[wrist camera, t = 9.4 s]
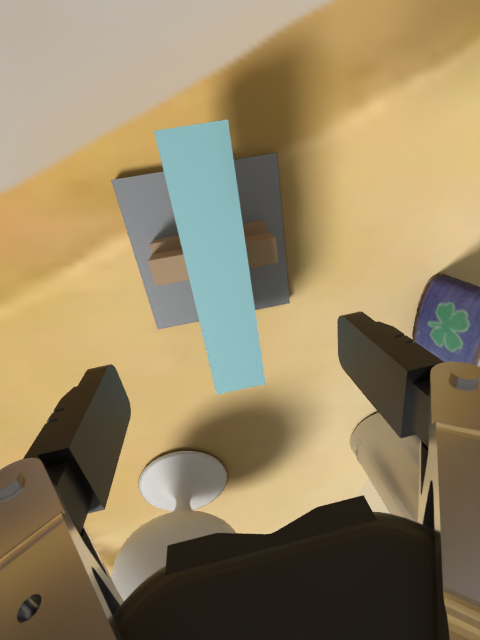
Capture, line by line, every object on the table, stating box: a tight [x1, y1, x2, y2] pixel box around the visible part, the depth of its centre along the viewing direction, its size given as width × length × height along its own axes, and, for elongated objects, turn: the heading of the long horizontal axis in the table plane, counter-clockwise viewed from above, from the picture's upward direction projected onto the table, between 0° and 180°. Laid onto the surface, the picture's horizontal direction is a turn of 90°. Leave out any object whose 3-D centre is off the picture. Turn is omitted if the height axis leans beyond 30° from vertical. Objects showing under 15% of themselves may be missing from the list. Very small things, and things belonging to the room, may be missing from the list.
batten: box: [154, 120, 265, 394], centre depth 21 cm, size 4×18×4 cm, turn 9°
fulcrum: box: [111, 153, 290, 329], centre depth 26 cm, size 14×14×6 cm
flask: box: [412, 274, 480, 367], centre depth 30 cm, size 9×3×11 cm, turn 179°
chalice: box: [111, 451, 236, 601], centre depth 34 cm, size 14×14×15 cm
